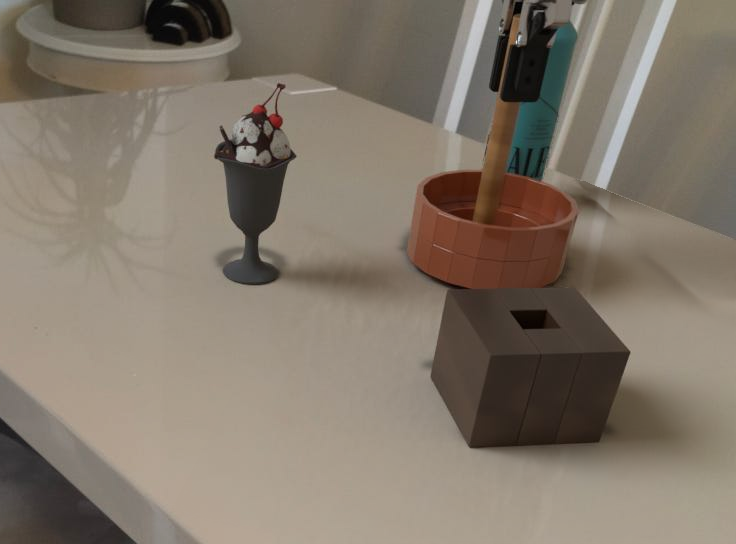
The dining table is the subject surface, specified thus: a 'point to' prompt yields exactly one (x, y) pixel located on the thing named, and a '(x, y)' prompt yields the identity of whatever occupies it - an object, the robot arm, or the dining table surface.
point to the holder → (526, 366)
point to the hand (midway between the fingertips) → (513, 94)
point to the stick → (497, 149)
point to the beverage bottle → (542, 111)
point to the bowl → (491, 232)
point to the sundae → (254, 185)
